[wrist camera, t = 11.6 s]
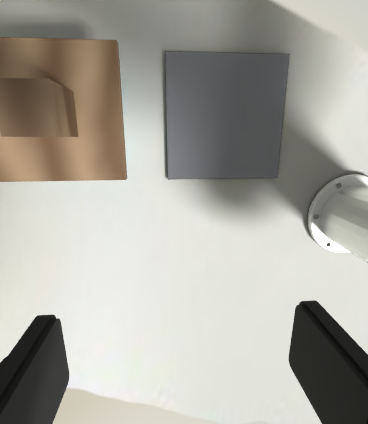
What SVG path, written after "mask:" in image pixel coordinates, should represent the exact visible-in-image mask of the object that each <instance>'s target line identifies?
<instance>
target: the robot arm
mask: <svg viewBox="0 0 368 424" xmlns="http://www.w3.org/2000/svg"><path fill="white" fill-rule="evenodd" d="M308 227H309V231H310V234H311V236H312V237H313V239H314V240H315V241H316V242H317V243H318V244H319V245H320V246H322V247H323V248H325V249H327V250H329V251H332V252H338V253H345V252H351V253H352V254H354V255H355V256H357V257H359V258H360V259H362V260H364V261H365V262H367V263H368V176H365V175H359V174H349V175H345V176H341V177H338V178H336V179H334V180H332V181H331V182H329V183H328V184H326V185H325V186H324V187H323V188H322V189H321V190H320V191H319V192H318V194H317V195H316V196H315V198H314V200H313V201H312V203H311V206H310V209H309V213H308ZM289 363H290V367H291V369H292V370H293V372H294V374H295V376H296V378H297V379H298V381H299V383H300V385H301V387H302V388H303V390H304V392H305V394H306V396H307V397H308V399H309V401H310V403H311V405H312V406H313V408H314V410H315V412H316V413H317V415H318V417H319V419H320V421H321V422H322V424H368V355H367V354H366V353H365V351H364V350H363V349H362V348H361V347H360V346H359V345H358V344H357V343H356V342H355V341H354V340H353V339H352V338H351V337H350V336H349V335H348V333H347V332H346V331H345V330H344V329H343V328H342V327H341V326H340V325H339V324H338V323H337V322H336V321H335V320H334V319H333V318H332V317H331V315H330V314H329V313H328V312H327V311H326V310H325V309H324V308H323V307H322V306H321V305H320V304H319V303H318V302H317V301H302V302H300V304H299V305H297V306H296V309H295V316H294V323H293V331H292V338H291V345H290V352H289ZM68 381H69V369H68V363H67V357H66V351H65V345H64V339H63V333H62V327H61V322H60V319H56V317H55V315H39V316H37V317H36V318H35V319H34V320H33V322H32V323H31V324H30V326H29V327H28V329H27V330H26V331H25V333H24V334H23V336H22V337H21V339H20V340H19V341H18V343H17V344H16V346H15V347H14V348H13V350H12V351H11V353H10V354H9V355H8V356H7V357H6V358H4V359H3V360H2V362H1V363H0V424H52V423H53V420H54V418H55V415H56V413H57V410H58V408H59V405H60V403H61V400H62V397H63V395H64V392H65V390H66V387H67V385H68Z"/></svg>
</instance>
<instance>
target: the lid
mask: <svg viewBox="0 0 368 424" xmlns="http://www.w3.org/2000/svg"><path fill="white" fill-rule="evenodd" d="M126 179H127V170H126V155H125V140H124V125H123V110H122V95H121V80H120V65H119V50H118V42H117V40H91V39H51V38H10V37H0V182H15V181H79V180H126Z"/></svg>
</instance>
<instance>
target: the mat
mask: <svg viewBox="0 0 368 424" xmlns="http://www.w3.org/2000/svg"><path fill="white" fill-rule="evenodd" d="M165 63H166V109H167V155H168V179H227V178H277V175H278V165H279V155H280V145H281V135H282V125H283V114H284V104H285V94H286V84H287V74H288V64H289V54H264V53H217V52H170V51H165Z"/></svg>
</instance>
